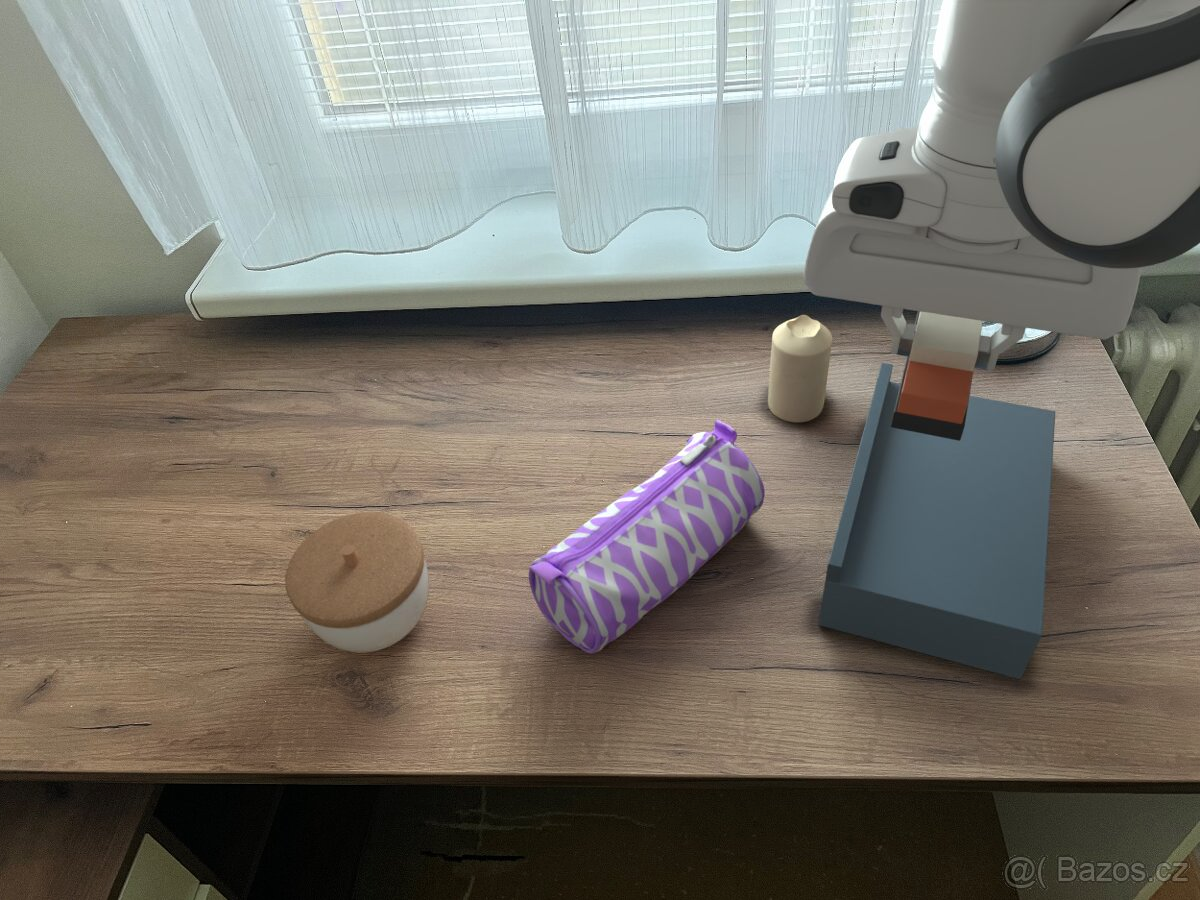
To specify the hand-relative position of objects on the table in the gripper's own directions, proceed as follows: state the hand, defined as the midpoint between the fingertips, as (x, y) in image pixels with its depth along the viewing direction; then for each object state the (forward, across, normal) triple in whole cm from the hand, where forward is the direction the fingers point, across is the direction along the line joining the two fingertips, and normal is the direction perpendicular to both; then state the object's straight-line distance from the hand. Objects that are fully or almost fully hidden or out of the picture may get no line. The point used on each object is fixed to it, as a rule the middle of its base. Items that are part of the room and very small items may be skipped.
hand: (940, 357), depth 62 cm
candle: (+19, +12, -13) cm, 26 cm away
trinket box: (+19, +39, +23) cm, 49 cm away
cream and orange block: (+2, 0, 0) cm, 2 cm away
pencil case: (+19, +19, +11) cm, 29 cm away
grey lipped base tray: (+19, -3, 0) cm, 19 cm away
